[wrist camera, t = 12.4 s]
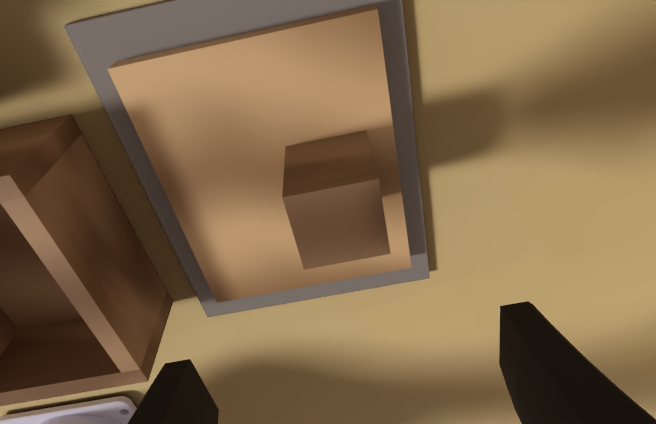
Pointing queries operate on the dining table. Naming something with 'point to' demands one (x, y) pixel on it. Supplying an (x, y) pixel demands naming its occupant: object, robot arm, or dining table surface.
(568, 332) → the dining table surface
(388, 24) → the mat
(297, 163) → the lid
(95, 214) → the brown wooden open box
